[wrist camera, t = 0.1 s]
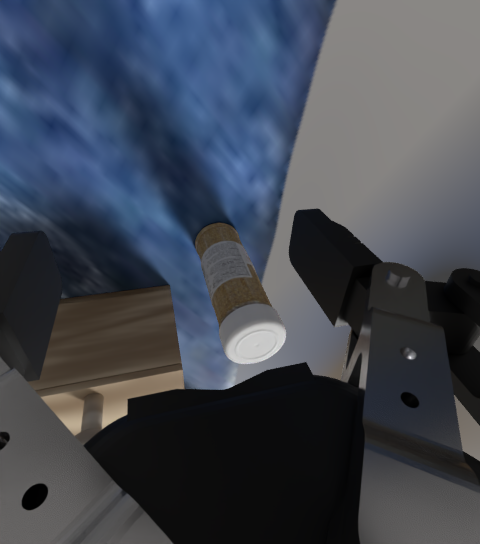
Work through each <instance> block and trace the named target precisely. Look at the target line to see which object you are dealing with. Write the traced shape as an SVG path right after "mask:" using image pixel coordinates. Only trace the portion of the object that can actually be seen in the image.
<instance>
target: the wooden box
mask: <svg viewBox="0 0 480 544" xmlns="http://www.w3.org/2000/svg"><path fill="white" fill-rule="evenodd" d="M177 364H182V363H181V356H180V350H179V343H178V337H177V330H176V323H175V317H174V310H173V304H172V297H171V290H170V285H165V286H158V287H150V288H142V289H134V290H127V291H119V292H111V293H103V294H96V295H88V296H80V297H72V298H65V299H60V302H59V306H58V310H57V314H56V318H55V321H54V325H53V329H52V333H51V337H50V341H49V345H48V349H47V352H46V356H45V360H44V364H43V368H42V372H41V376H40V380H35V381H30V382H28V383H29V384H30V386H31V387H32V388H33V389H34V390H35V391H39V390H44V389H50V388H55V387H60V386H66V385H71V384H76V383H81V382H87V381H92V380H97V379H103V378H108V377H113V376H119V375H124V374H129V373H135V372H140V371H145V370H151V369H156V368H161V367H167V366H172V365H177Z"/></svg>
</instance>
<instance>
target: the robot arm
mask: <svg viewBox="0 0 480 544" xmlns="http://www.w3.org/2000/svg"><path fill="white" fill-rule="evenodd" d="M289 258H290V261H291V264H292V265H293V267H294V269H295V270H296V272H297V273H298V274H299V276H300V277H301V279H302V280H303V282H304V283H305V285H306V286H307V288H308V289H309V290H310V292H311V294H312V295H313V296H314V298H315V299H316V301H317V302H318V304H319V305H320V307H321V308H322V309H323V311H324V313H325V314H326V315H327V317H328V318H329V320H330V321H331V323H332V324H333V325H334V327H339V326H344V325H350V326H351V331H350V334H349V338H348V343H347V349H346V355H345V361H344V367H343V372H342V378H341V381H340V380H338V379H334V378H330V377H326V376H319V375H313V374H312V372H311V370H310V368H309V367H308V365H307V363H306V362H305V363H300V364H295V365H290V366H285V367H280V368H276V369H270V370H266V371H264V372H262V373H260V374H258V375H256V376H254V377H252V378H250V379H248V380H245V381H243V382H242V383H239V384H237V385H235V386H233V387H231V388H229V389H225V390H201V389H173V390H168V391H164V392H159V393H154V394H149V395H144V396H139V397H134V398H130V399H128V405H127V415H125V416H123V417H121V418H119V419H117V420H116V421H114V422H112V423H110V424H109V425H107V426H106V427H104V428H103V429H102V430H100V431H99V432H98V433H96V434H95V435H94V436H93V437H92V438H91V439H90V440H88V441H87V442H86V443H85V444H84V445H82V444H81V443H80V442H79V441H78V439H77V438H76V437H75V436H74V435H73V434H72V433H71V431H70V430H69V429H68V428H67V427H66V426H65V425H64V423H63V422H62V421H61V420H60V419H59V418H58V417H57V415H56V414H55V413H54V412H53V411H52V410H51V409H50V407H49V406H48V405H47V404H46V403H45V402H44V400H43V399H42V398H41V397H40V396H39V395H38V394H37V392H36V391H35V390H34V389H33V388H32V387H31V386H30V384H29V383H28V382H30V381H35V380H40V376H41V372H42V368H43V364H44V360H45V356H46V352H47V349H48V345H49V341H50V337H51V333H52V329H53V325H54V321H55V318H56V314H57V310H58V306H59V302H60V298H61V294H62V280H61V275H60V272H59V269H58V266H57V264H56V261H55V258H54V255H53V253H52V250H51V247H50V244H49V241H48V239H47V236H46V235H45V233H44V232H43V231H34V232H22V233H13V234H11V236H10V237H9V239H8V241H7V242H6V244H5V246H4V248H3V249H2V251H0V544H480V461H478V460H477V459H475V458H474V457H472V456H470V455H469V454H467V453H465V452H464V451H463V450H462V443H461V437H460V431H459V424H458V418H457V411H456V405H455V399H454V395H455V396H456V397H457V399H458V400H459V401H460V402H461V403H462V405H463V406H464V407H465V408H466V410H467V411H468V412H469V413H470V414H471V416H472V417H473V418H474V419H475V420H476V422H477V423H478V424H479V425H480V352H479V351H478V350H477V349H476V348H475V347H474V346H473V344H474V343H475V341H476V340H477V338H478V337H479V336H480V271H478V270H474V269H467V268H461V269H456V270H454V271H453V272H452V273H451V275H450V277H449V279H448V281H447V283H443V282H431V281H425V280H424V278H423V277H422V276H421V275H420V274H419V273H418V272H417V271H415V270H414V269H412V268H410V267H408V266H405V265H403V264H399V263H394V262H382V261H381V260H380V259H379V258H378V257H376V255H374V253H372V252H371V251H370V250H369V249H368V248H367V247H366V246H365V245H364V244H363V243H361V241H360V240H358V239H357V238H356V237H354V235H353V234H352V233H351V232H350V231H349V230H348V229H346V228H345V227H344V226H342V225H340V224H338V223H336V222H334V221H331V220H330V219H329V218H328V217H327V216H326V215H325V214H324V213H323V212H322V211H321V210H320V209H307V210H298V211H296V213H295V216H294V221H293V227H292V234H291V239H290V246H289Z"/></svg>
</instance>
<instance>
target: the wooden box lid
mask: <svg viewBox="0 0 480 544" xmlns="http://www.w3.org/2000/svg"><path fill="white" fill-rule="evenodd" d="M173 389H184V380H183V369H182V364H177V365H172V366H167V367H161V368H156V369H151V370H145V371H140V372H135V373H129V374H124V375H119V376H113V377H108V378H103V379H97V380H92V381H87V382H81V383H76V384H71V385H66V386H60V387H55V388H50V389H44V390H39V391H36V392H37V394H38V395H39V396H40V397H41V398H42V399H43V400H44V402H45V403H46V404H47V405H48V406H49V407H50V409H51V410H52V411H53V412H54V413H55V414H56V415H57V417H58V418H59V419H60V420H61V421H62V422H63V423H64V425H65V426H66V427H67V428H68V429H69V430H70V431H71V433H72V434H73V435H74V436H75V437H76V438H77V439H78V441H79V442H80V443H81V444H82V445H84V444H85V443H86V442H87V441H88V440H90V439H91V438H92V437H93V436H94V435H95V434H96V433H98V432H99V431H100V430H102V429H103V428H104V427H106V426H107V425H109V424H110V423H112V422H114V421H116V420H117V419H119V418H121V417H123V416H125V415H127V405H128V399H130V398H134V397H139V396H144V395H149V394H154V393H159V392H164V391H168V390H173Z"/></svg>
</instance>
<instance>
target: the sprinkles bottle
mask: <svg viewBox="0 0 480 544" xmlns="http://www.w3.org/2000/svg"><path fill="white" fill-rule="evenodd" d="M195 248H196V251H197V253H198V255H199V257H200V260H201V267H202V271H203V274H204V278H205V281H206V285H207V288H208V292H209V295H210V299H211V302H212V305H213V308H214V310H215V313H216V316H217V320H218V323H219V336H220V339H221V343H222V346H223V349H224V352H225V354H226V356H227V357H228V358H229V359H230V360H232V361H233V362H236V363H240V364H252V363H257V362H260V361H263V360H265V359H267V358H269V357H270V356H272V355H274V354H275V353H276V352H277V351H278V350H279V349H280V348H281V347H282V345H283V344H284V342H285V339H286V330H285V327H284V325H283V323H282V320H281V318H280V317H279V315H278V313H277V311H276V310H275V309H274V308H273V307H272V305H271V304H270V302H269V300H268V297H267V296H266V293H265V291H264V289H263V287H262V285H261V283H260V280H259V278H258V276H257V274H256V272H255V269H254V266H253V264H252V262H251V260H250V258H249V256H248V254H247V252H246V250H245V249H244V247H243V246H242V244H241V242H240V239H239V235H238V233H237V231H236V230H235V229H234V228H233V227H232V226H230V225H228V224H225V223H215V224H210V225H208V226H206V227H205V228H203V229H202V230H201V231H200V232H199V234H198V235H197V237H196V240H195Z"/></svg>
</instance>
